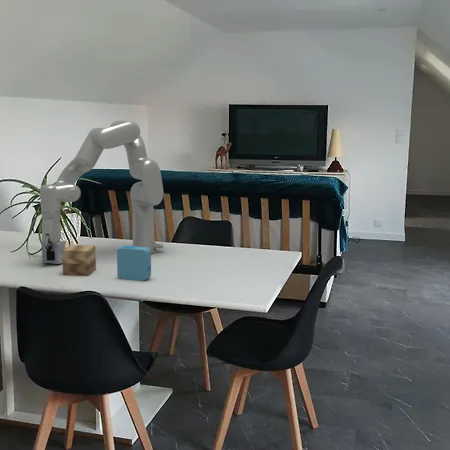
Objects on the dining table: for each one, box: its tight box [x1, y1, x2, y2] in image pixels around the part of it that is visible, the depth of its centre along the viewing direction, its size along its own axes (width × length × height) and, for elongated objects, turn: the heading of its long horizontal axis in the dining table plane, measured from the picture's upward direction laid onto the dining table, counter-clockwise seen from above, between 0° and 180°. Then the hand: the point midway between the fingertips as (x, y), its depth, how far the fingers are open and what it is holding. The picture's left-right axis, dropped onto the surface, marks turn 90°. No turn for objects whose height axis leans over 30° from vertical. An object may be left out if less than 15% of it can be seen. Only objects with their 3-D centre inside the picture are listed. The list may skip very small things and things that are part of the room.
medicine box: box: [41, 240, 65, 265], centre depth 244 cm, size 8×4×9 cm, turn 72°
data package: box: [116, 245, 152, 281], centre depth 224 cm, size 12×4×12 cm, turn 75°
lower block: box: [62, 258, 97, 277], centre depth 232 cm, size 10×10×5 cm
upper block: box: [62, 244, 97, 264], centre depth 231 cm, size 10×10×5 cm
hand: (53, 258), depth 244 cm, fingers closed on medicine box, 5 cm apart
